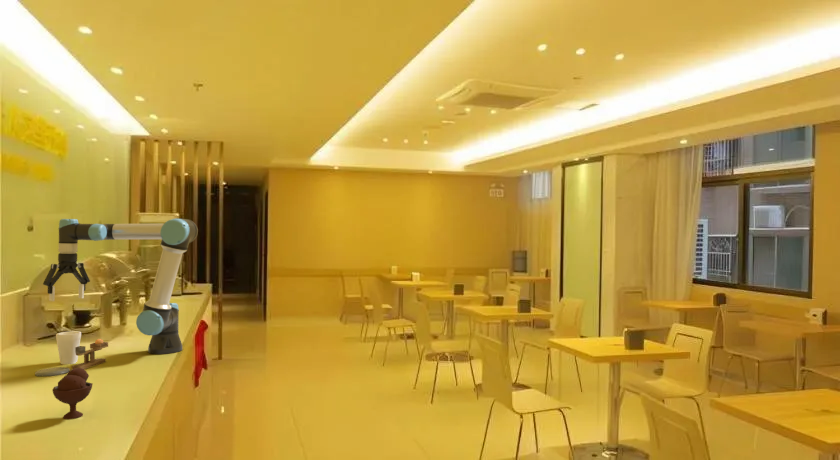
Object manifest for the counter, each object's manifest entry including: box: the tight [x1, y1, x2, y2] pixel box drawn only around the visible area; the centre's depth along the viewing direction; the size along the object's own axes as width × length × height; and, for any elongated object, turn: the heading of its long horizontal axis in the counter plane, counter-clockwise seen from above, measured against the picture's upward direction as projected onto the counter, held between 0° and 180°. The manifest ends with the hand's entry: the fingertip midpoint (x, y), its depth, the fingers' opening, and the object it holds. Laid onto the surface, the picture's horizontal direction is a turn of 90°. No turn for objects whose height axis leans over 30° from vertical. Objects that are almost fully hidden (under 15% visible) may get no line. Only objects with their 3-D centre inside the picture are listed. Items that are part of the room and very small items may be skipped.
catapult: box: [71, 341, 109, 370], centre depth 256 cm, size 5×16×9 cm, turn 170°
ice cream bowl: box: [52, 368, 94, 420], centre depth 188 cm, size 11×11×15 cm
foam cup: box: [55, 330, 82, 365], centre depth 261 cm, size 10×9×13 cm
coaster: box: [34, 366, 71, 377], centre depth 244 cm, size 12×12×1 cm
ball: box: [94, 338, 104, 344], centre depth 262 cm, size 3×3×3 cm
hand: (66, 299), depth 271 cm, fingers open, 13 cm apart
